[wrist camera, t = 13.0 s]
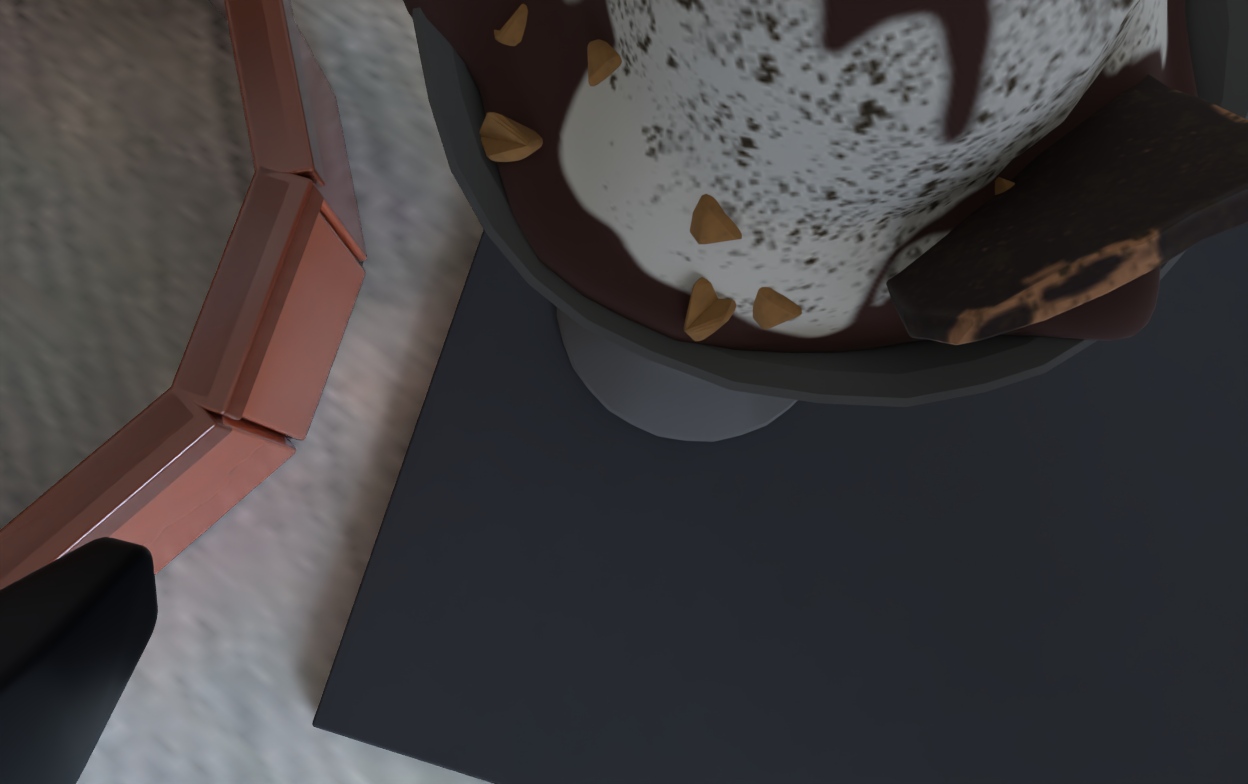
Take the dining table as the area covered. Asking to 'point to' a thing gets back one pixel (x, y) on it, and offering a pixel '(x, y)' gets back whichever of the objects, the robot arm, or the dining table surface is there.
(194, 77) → the dining table surface
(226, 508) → the serving tub
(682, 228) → the sundae
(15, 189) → the dining table surface
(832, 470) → the placemat
